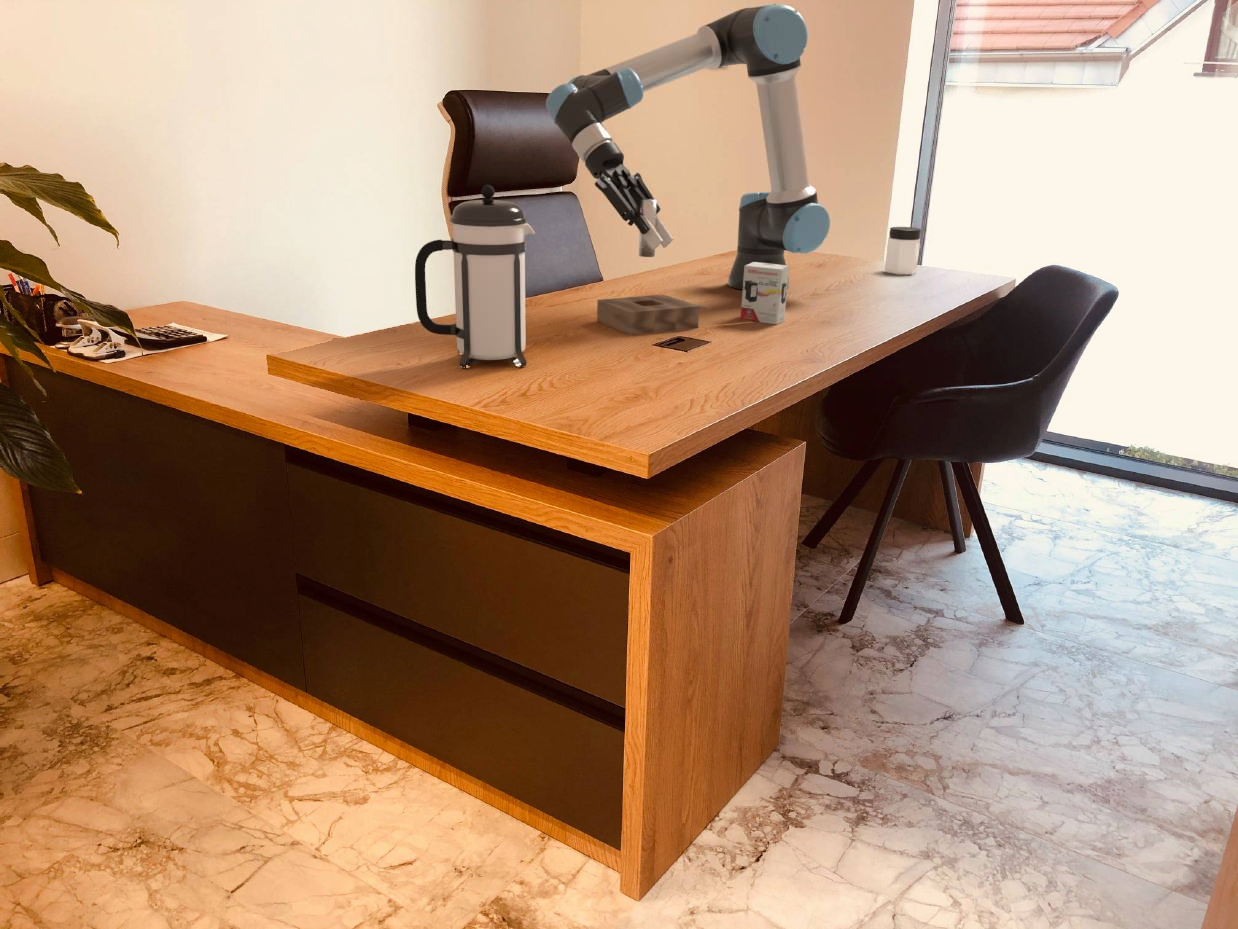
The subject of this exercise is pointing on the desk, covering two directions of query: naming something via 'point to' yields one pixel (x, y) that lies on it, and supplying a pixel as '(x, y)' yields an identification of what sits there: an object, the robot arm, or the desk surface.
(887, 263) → the jar
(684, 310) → the hole block
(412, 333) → the desk surface
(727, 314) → the desk surface
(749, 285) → the ink box
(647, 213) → the silver rounded cylinder
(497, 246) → the coffee press
